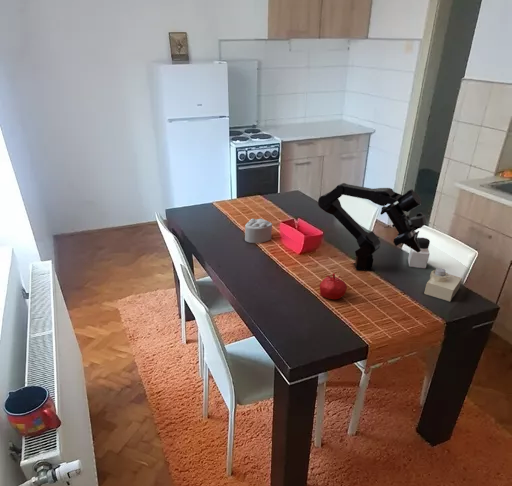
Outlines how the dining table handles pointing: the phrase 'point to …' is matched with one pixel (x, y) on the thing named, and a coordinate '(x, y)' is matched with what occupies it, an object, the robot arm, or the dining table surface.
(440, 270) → the flush button
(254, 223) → the lumpy-topped squat cylinder
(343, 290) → the pomegranate
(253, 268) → the dining table surface
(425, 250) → the medicine bottle
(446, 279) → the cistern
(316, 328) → the dining table surface
